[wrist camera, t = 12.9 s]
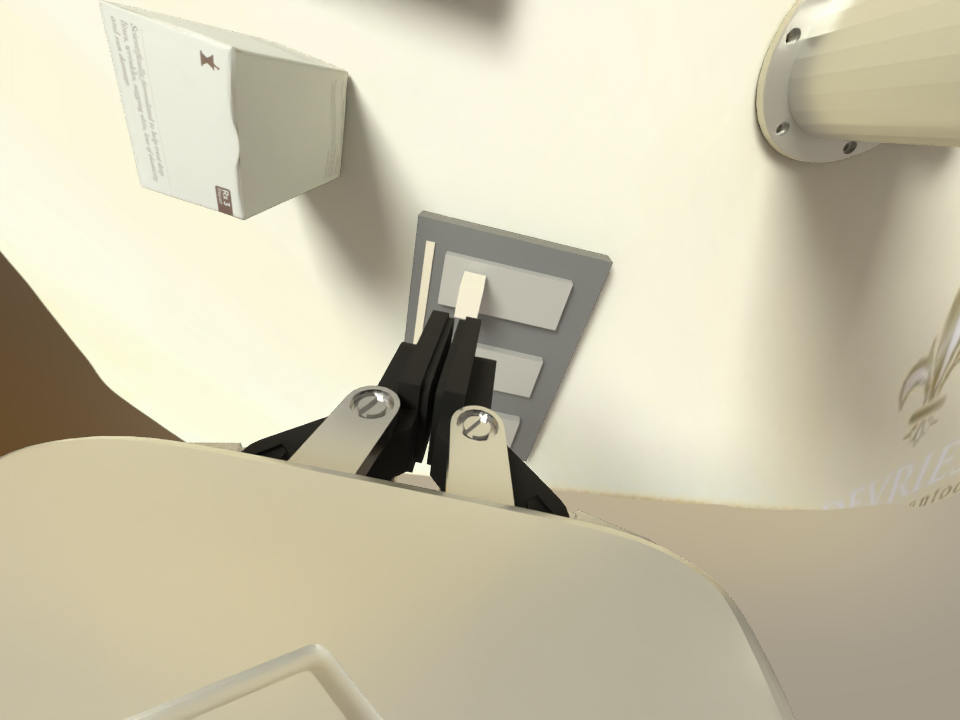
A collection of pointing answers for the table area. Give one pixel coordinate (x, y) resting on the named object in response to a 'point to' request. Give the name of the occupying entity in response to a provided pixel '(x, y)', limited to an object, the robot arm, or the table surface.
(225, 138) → the skincare box
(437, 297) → the breaker panel
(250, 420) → the table surface
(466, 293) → the block
